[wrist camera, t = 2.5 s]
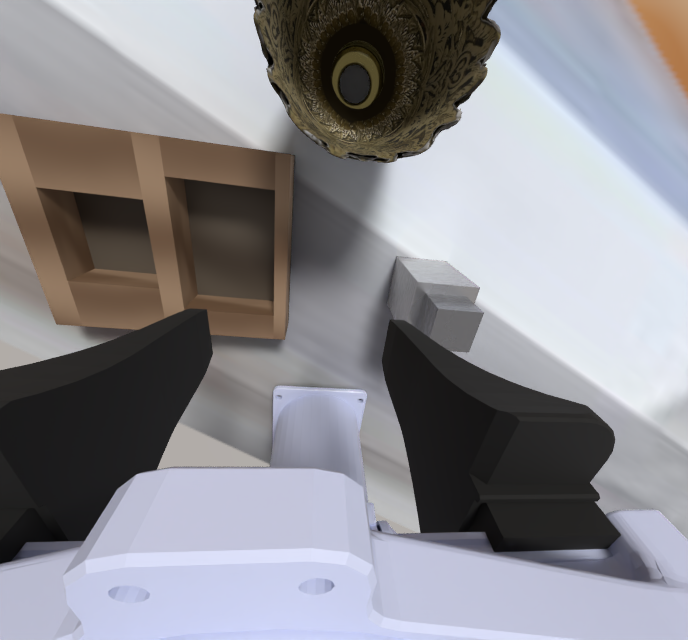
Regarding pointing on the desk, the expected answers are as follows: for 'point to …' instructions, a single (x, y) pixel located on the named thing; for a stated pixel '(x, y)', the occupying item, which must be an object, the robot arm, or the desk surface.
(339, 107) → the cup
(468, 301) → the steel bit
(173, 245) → the socket board
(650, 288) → the desk surface
